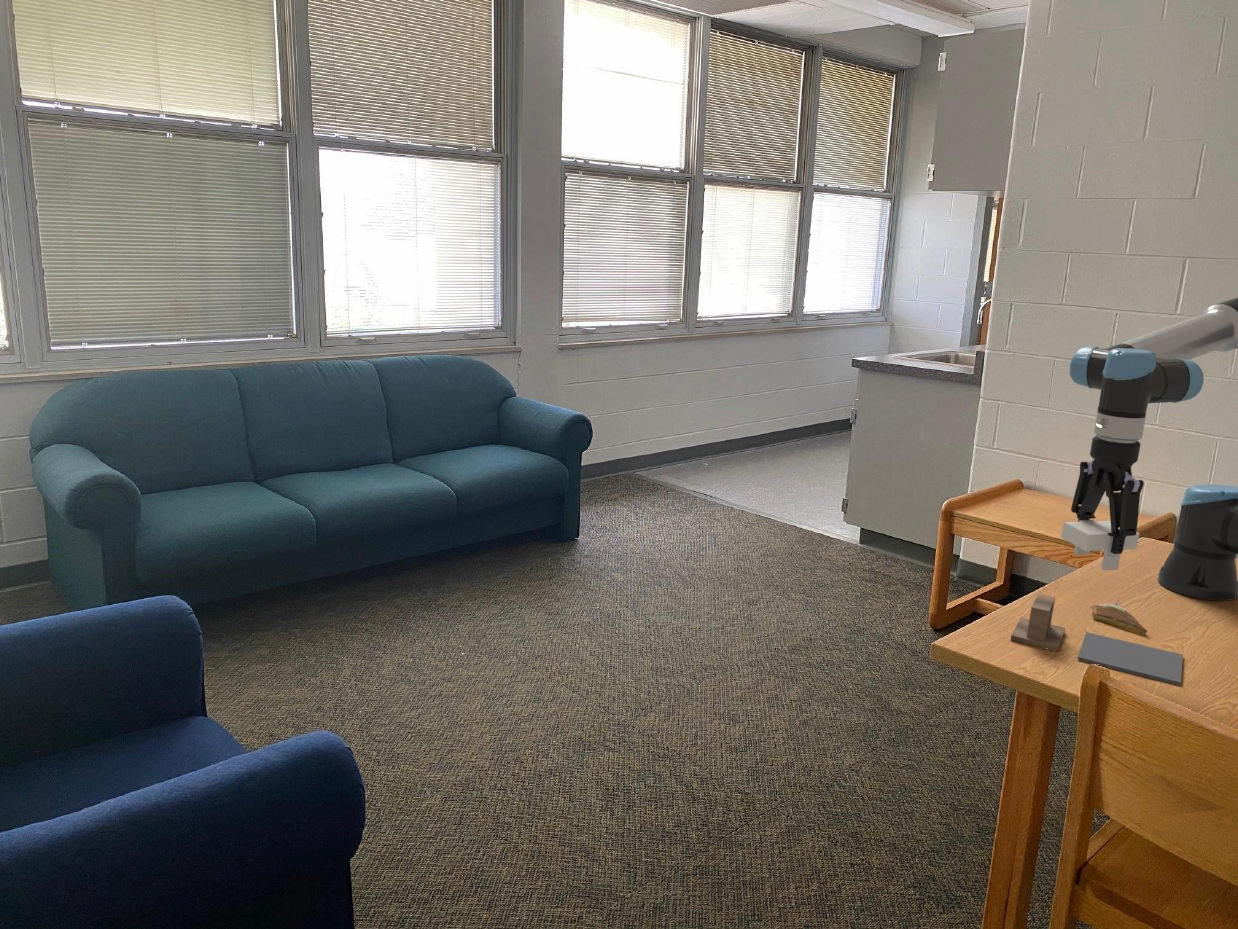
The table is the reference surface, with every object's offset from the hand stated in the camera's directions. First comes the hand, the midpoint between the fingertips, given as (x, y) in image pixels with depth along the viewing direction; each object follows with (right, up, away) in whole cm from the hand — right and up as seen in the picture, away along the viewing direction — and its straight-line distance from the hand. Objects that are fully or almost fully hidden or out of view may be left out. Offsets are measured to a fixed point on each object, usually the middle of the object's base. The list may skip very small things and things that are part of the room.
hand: (1095, 561), depth 168 cm
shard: (+14, -14, +17) cm, 26 cm away
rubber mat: (+6, -18, 0) cm, 19 cm away
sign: (+18, -12, +26) cm, 33 cm away
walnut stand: (-7, -15, +8) cm, 18 cm away
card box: (0, +3, -1) cm, 3 cm away
